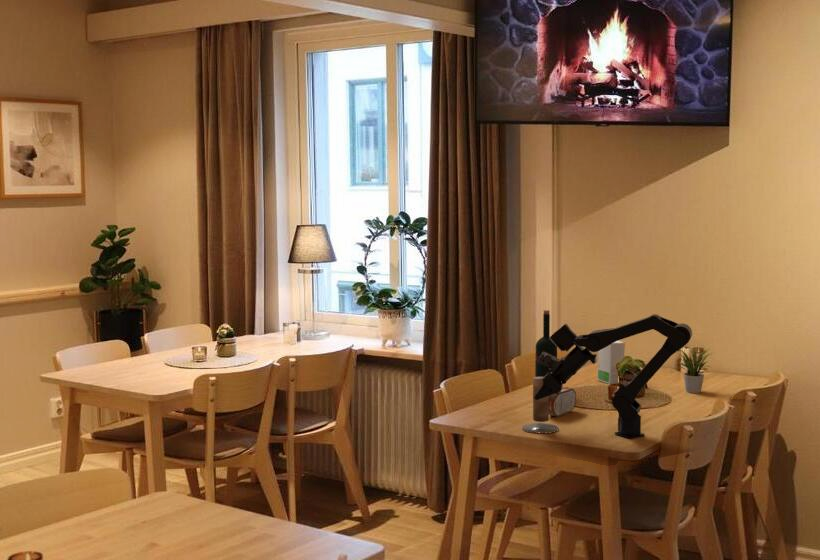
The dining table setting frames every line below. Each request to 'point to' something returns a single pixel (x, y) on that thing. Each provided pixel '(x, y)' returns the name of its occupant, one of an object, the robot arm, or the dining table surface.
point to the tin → (562, 402)
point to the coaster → (540, 427)
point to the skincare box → (610, 362)
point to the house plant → (693, 371)
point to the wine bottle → (544, 346)
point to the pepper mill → (540, 402)
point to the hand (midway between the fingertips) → (536, 397)
